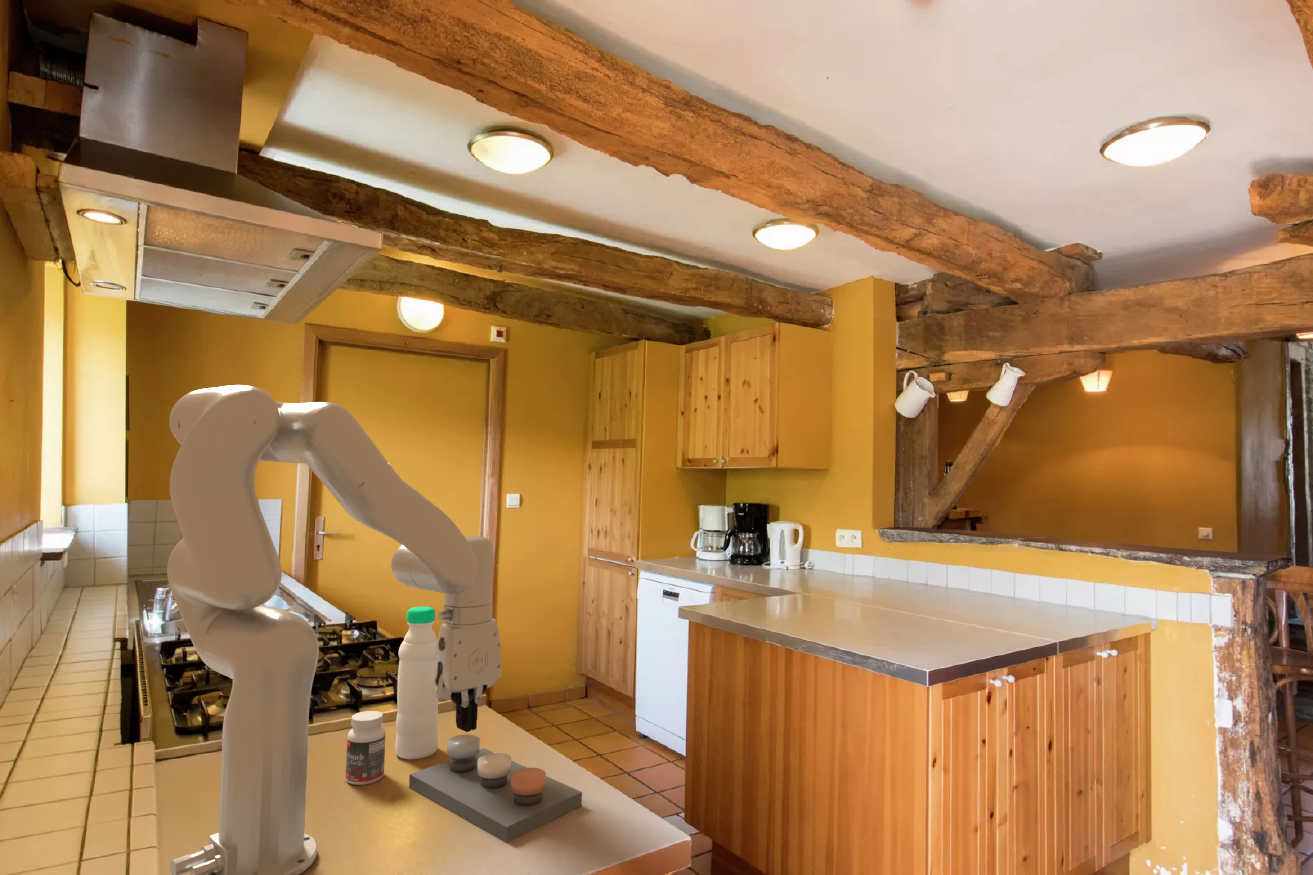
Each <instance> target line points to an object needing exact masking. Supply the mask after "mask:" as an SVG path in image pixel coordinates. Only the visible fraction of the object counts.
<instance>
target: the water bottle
mask: <svg viewBox="0 0 1313 875" xmlns="http://www.w3.org/2000/svg"><path fill="white" fill-rule="evenodd" d="M435 620H436V609H435V608H434V607H430V606H415V607H410V608H409V609H408V610H407V612H406V622H407V625H408V631H407V632H406V634H405V636H404V638H403V639H404V640H403V641H402V642H401V644H400V646H399V647H398V648H399V649H398V657H399V661H398V669H397V670H398V671H397V687H396V688H397V689H396V690H397V693H396V695H397V696H396V698H397V699H396V700H397V702H396V703H397V714H396V719H395V720H396V721H395V722H396V723H395V725H396V726H395V727H396V735H395V736H396V737H395V743H394V745H395V746H394V750H395V751H394V752H395V754H396V755H397V757H399V758H401V759H402V760H403V759H404V760H410V761H411V760H421V759H425V758H428V757H430V756H432V755H434V754H435V753H436V752H437V750H438V749H439V748H438V746H439V734H438V728H439V720H440V719H439V710H438V707H439V700H440V699H439V698H437V697H436V692H437V688H438V686H436V684H435V656H436V647H437V641H438V638H437V634H436V633H435V631H434V629H433V625H434V623H435Z"/></svg>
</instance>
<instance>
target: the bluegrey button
mask: <svg viewBox="0 0 1313 875" xmlns="http://www.w3.org/2000/svg"><path fill="white" fill-rule="evenodd" d="M480 741H481V739H480V737H479V736H477V735H474V734H459V735H458V734H457V735H454V736H453V737H450V738H449V739H448V740H447V743H446V744H447V746H446V747H447V748H446V750H447V752H446V755H447V756H448V757H450V758H468V757H472V756H475V755H477V754H478V753H479V750H480V749H481V748H480V747H481V746H480V744H481V742H480Z"/></svg>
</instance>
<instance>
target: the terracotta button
mask: <svg viewBox="0 0 1313 875" xmlns="http://www.w3.org/2000/svg"><path fill="white" fill-rule="evenodd" d="M546 776H547V773H546V771H545V770H543V769H541V768H538V767H527V768H522V769H519V770H516V771H514V772H513V773H512V775H511V791H512V792H513V793H515V794H518V795H534V794H538V793H540V792H542V791H543V790H544V789H545V788H546Z"/></svg>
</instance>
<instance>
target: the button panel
mask: <svg viewBox="0 0 1313 875" xmlns="http://www.w3.org/2000/svg"><path fill="white" fill-rule="evenodd" d="M490 753H494V751H491V750H489V749H486V748H484V747H483V748H480V750H479V753H478V754H477V755H475V756H472V757H468V758H453V757H450V759H449V760H447V761H443V762H441V763H438V764H435V765H431V766H429V767H426V768H423V769H420V770H417V771H416V772H412V773H409V780H408V784H409V785H408V787H409V789H411V790H413V791H415V792H417V793H418V794H420V795H422V796H424V797H425V798H427V799H429V800H431V801H433V802H434V803H437V804H438V805H440V806H441V807H443V808H444V809H447V810H449V811H450V812H452V813H454V814H456V815H457V816H459V817H461V818H463V819H464V818H465V820H466V821H468V822H470V823H471V824H473V825H475V826H477V827H479V828H480V829H482V830H484V831H486V832H487V833H489V834H491V835H493V836H495V837H496V838H498V839H500V840H501V841H503V842H504V843H507V842H509V841H512V840H514V839H516V838H519V837H520V836H522V835H523V834H527V833H528V832H530V831H532V830H534V829H537V828H538V827H541V826H542V825H545V824H547V823H549V822H551V821H552V820H555V819H557V818H559V817H561V816H563V815H566V814H567V813H569V812H572V811H573V810H574V811H575V810H576V809H577V808H580V807H582V803H583V797H582V795H583V791H580V790H578V789H576V788H573V787H572V786H570V785H567V784H565V783H562V782H560V781H558V780H556V779H553V778H551V777H549V776H547V775H546V788H545V789H544V790H543V791H542V792H540V793H538V794H534V795H518V794H515V793H513V792H512V791H511V775H512V773H513V772H514V771H516V770H519V769H522V768H528V767H526V766H524V765H522V764H520V763H517V762H515V761H514V760H511V772H510V773H509V774H508V775H506V776H504V777H501V778H494V779H489V778H483V777H480V776H479V775H478V774H477V769H478V759H479V758H480V757H481V756H483V755H486V754H490Z"/></svg>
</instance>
